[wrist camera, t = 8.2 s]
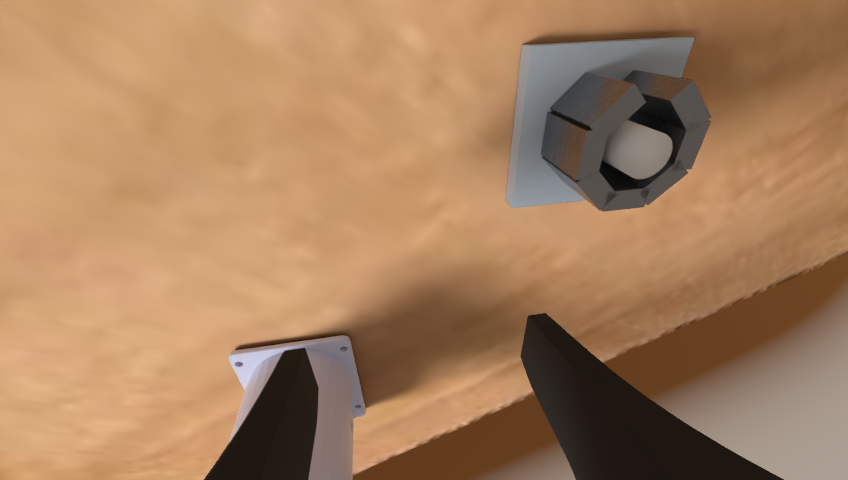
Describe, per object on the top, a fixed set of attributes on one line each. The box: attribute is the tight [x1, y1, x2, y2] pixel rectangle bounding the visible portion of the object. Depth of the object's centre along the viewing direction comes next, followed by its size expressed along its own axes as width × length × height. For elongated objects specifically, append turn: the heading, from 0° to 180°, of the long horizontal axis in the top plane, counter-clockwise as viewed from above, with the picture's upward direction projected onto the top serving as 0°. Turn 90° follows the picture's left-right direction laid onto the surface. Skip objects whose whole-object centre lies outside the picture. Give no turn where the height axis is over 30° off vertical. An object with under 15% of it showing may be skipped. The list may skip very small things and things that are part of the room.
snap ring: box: [541, 70, 711, 211], centre depth 16 cm, size 6×6×4 cm
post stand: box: [506, 37, 695, 208], centre depth 16 cm, size 8×8×5 cm
